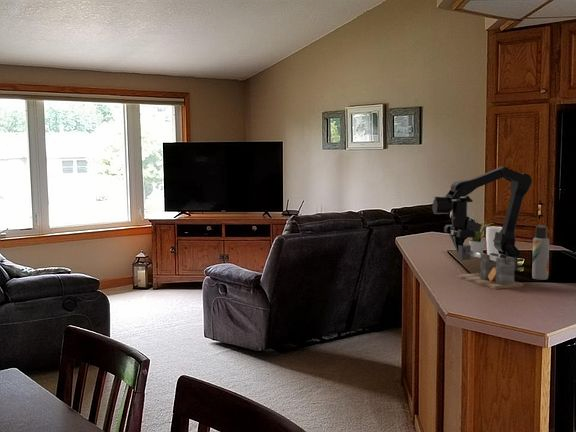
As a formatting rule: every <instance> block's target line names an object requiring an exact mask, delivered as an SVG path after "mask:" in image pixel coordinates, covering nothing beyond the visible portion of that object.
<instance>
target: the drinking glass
mask: <svg viewBox="0 0 576 432" xmlns="http://www.w3.org/2000/svg"><path fill="white" fill-rule="evenodd" d="M485 227H486V226H485ZM502 228H503V226H494V225H493V226H487V227H486V229H485V235H486V236H485V239H486V240H485V243H486V254H488V255H490V253H496V254H499V253H498V250H497V249H496V248H495V246H494V242H493V240H494V238H495V233H496V232H500V231H501V230H502ZM500 255H501V254H499V257H500Z"/></svg>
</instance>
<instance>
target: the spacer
mask: <svg viewBox="0 0 576 432" xmlns="http://www.w3.org/2000/svg"><path fill="white" fill-rule="evenodd" d="M488 278H489V280H490V281H491V282H492V281H494V279H495V278H496V267H493V269H492V270H491V272H490V273H489V275H488Z"/></svg>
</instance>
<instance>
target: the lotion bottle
mask: <svg viewBox="0 0 576 432" xmlns="http://www.w3.org/2000/svg"><path fill="white" fill-rule="evenodd" d="M549 264H550V239H549V238H548V226H546V225H542V224H539V225H536V226H535V237H534V238H532V268H531V276H532V277H531V278H532V279H534V280H539V281H540V280H541V281H543V280H548V279H549Z"/></svg>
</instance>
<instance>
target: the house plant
mask: <svg viewBox="0 0 576 432" xmlns="http://www.w3.org/2000/svg"><path fill="white" fill-rule="evenodd" d="M475 222H476V223H479V222H478V220H477V219H475ZM485 223H486V224H485ZM480 224H482V226H481V228H480V231H479V232H478V231H475V232H476V234H475V237H471V239H470V240H468V242H469V245H471V251H476V252H480V253H484V248H485V243H486V240H484V239H483V238H484V237H486V233H483V232H484V231H486V227H490V225H492V224H493V222H491V223H488V224H487V222H485V221H481V222H480ZM483 224H484V225H483Z"/></svg>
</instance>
